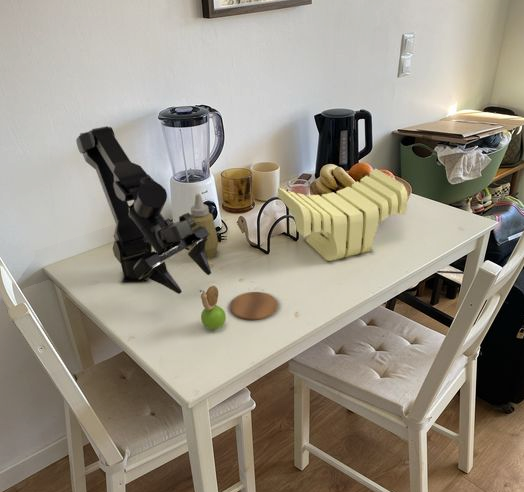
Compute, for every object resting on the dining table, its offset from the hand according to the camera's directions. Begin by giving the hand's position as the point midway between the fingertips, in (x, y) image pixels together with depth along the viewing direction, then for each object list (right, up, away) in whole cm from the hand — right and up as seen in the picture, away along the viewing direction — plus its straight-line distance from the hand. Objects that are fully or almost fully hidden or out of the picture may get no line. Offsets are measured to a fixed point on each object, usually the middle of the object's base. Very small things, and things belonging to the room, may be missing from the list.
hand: (195, 283), depth 112 cm
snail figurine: (+4, -10, +4) cm, 11 cm away
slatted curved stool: (+36, +11, +33) cm, 50 cm away
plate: (+13, -5, +10) cm, 17 cm away
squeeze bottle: (-1, +9, +32) cm, 34 cm away
